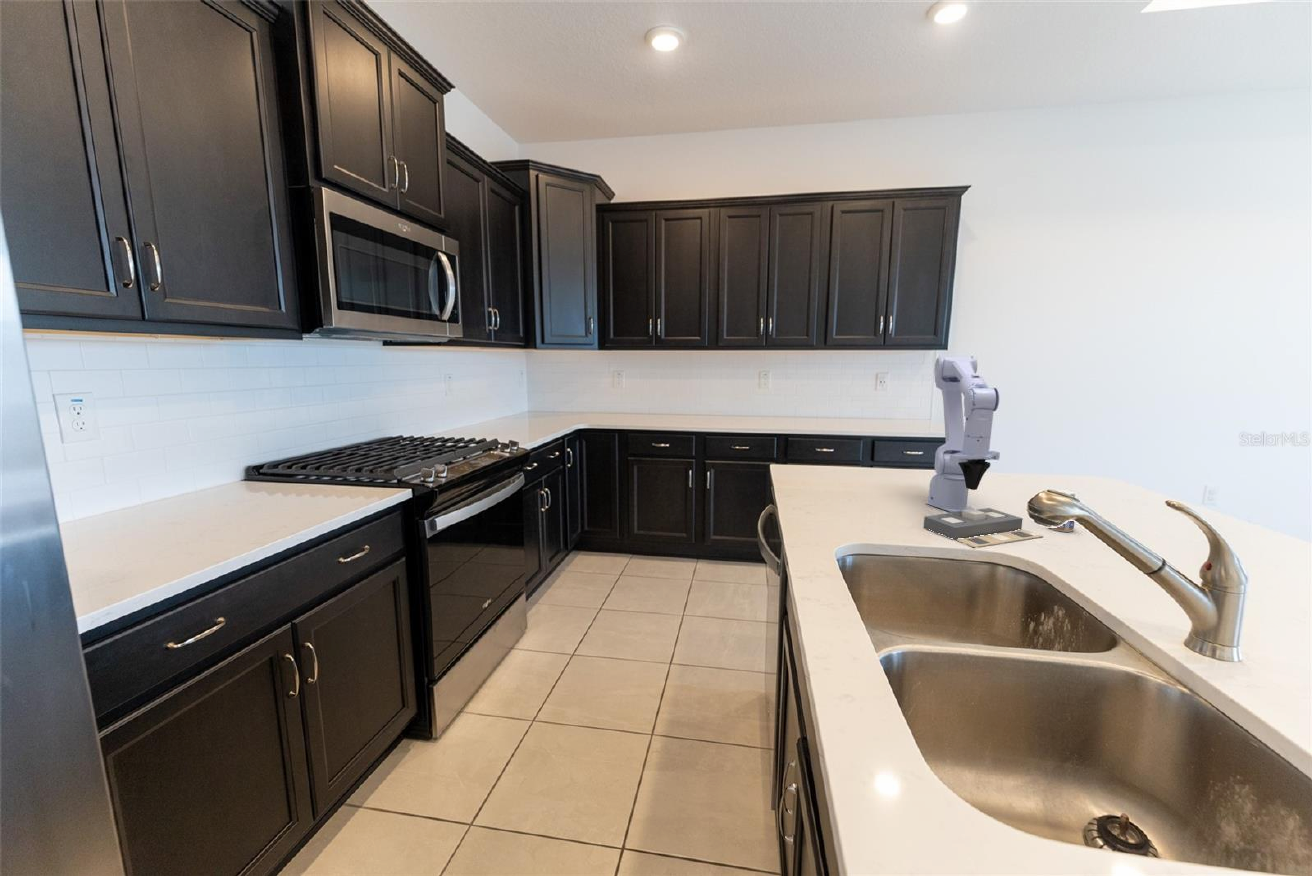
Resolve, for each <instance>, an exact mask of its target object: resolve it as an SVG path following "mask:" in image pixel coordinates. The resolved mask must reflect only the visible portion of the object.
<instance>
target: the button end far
mask: <svg viewBox="0 0 1312 876" xmlns="http://www.w3.org/2000/svg"><path fill="white" fill-rule="evenodd" d="M986 515H988V516H991V517H994V518H1000V517H1006V516H1005V515H1002V514H998V513H995V512H987V513H986Z"/></svg>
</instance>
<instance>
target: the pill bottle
mask: <svg viewBox="0 0 1312 876" xmlns="http://www.w3.org/2000/svg"><path fill="white" fill-rule="evenodd" d="M1056 490H1057V491H1059V492H1065V493H1067V494H1070V495H1071V496H1073V497H1074V498H1075V496H1076V493H1075V492H1074V491H1071V490H1068V489H1066V490H1065V489H1056ZM1075 523H1076V521H1075V522H1074V521H1068V522H1067V523H1066V524H1063V525H1062V526H1060V527H1057V528H1051V529H1050V530H1052V531H1055V530H1056V531H1057V532H1063V533H1071V532H1073V531H1074V529H1075ZM1056 531H1055V532H1056Z"/></svg>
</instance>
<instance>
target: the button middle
mask: <svg viewBox="0 0 1312 876" xmlns="http://www.w3.org/2000/svg"><path fill="white" fill-rule="evenodd" d="M962 517H965V518H967V519H970V520H973V521H978V520H985V517H986V513H984V512H981V511H978V509H975V508H974V509H968V510H962Z"/></svg>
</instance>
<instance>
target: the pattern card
mask: <svg viewBox="0 0 1312 876" xmlns="http://www.w3.org/2000/svg"><path fill="white" fill-rule="evenodd" d="M1030 533H1034V532H1032V531H1029V530H1026V529H1021V530H1017V531H1011V532H1004V533H997V534H991V535H984V536H978V537H971V538H964V539H958V540H957V541H956V542H958V541H959V543H960V542H961V543H960V544H963V543H965V544H966V546H968V545H969V546H968V547H971V548H973V547H979V548H985V547H992V546H998V545H1002V543H1004V544H1010V543H1017V542H1022V541H1021V540H1023V541H1027V540H1026V539H1029V540H1031V539H1030V538H1035V539H1038V538H1037V537H1041V538H1044V535H1041V534H1039V535H1035V536H1034V535H1032V534H1030ZM965 544H964V545H965ZM997 544H998V545H997Z"/></svg>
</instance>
